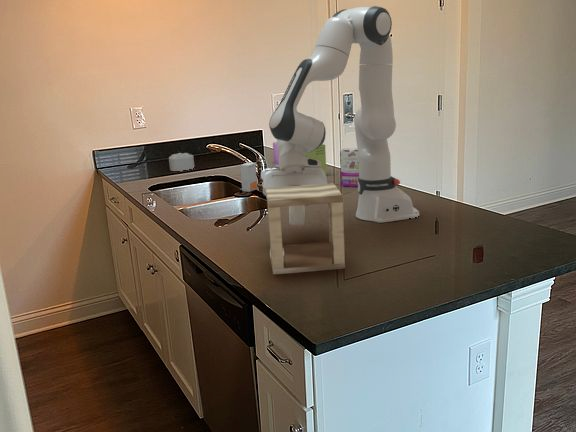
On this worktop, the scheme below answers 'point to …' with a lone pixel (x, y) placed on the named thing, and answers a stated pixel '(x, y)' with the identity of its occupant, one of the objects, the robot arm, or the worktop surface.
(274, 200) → the shelf
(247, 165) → the skincare box
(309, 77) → the robot arm
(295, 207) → the jar
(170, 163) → the lumpy-topped squat cylinder
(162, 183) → the worktop surface
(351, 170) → the candy bar box
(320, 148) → the protein box
